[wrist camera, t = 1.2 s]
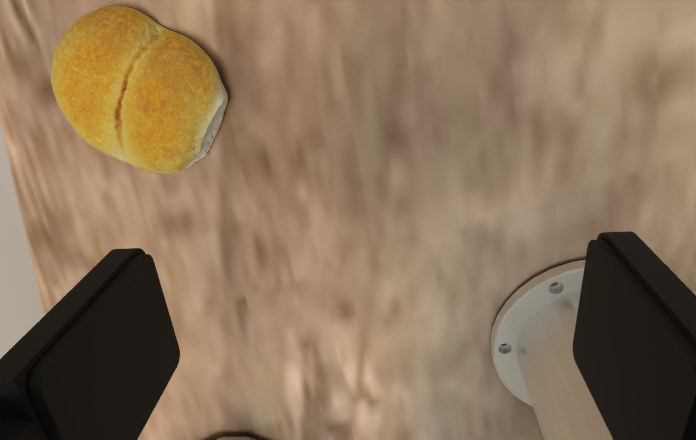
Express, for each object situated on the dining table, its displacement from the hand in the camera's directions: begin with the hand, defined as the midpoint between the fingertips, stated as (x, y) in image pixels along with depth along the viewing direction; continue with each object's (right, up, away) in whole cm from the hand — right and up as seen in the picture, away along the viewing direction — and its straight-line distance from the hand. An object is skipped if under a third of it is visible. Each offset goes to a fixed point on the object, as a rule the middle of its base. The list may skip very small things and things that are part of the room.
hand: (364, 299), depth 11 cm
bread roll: (-11, +9, +17) cm, 23 cm away
